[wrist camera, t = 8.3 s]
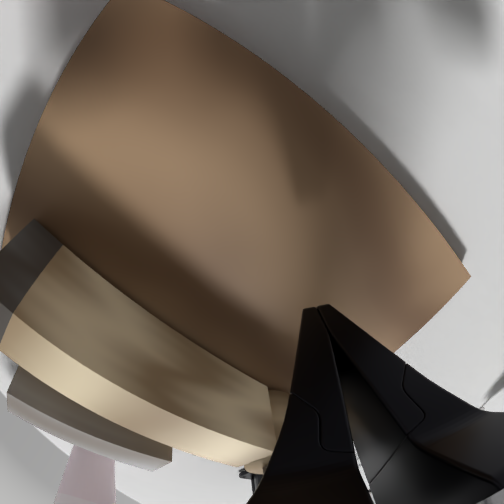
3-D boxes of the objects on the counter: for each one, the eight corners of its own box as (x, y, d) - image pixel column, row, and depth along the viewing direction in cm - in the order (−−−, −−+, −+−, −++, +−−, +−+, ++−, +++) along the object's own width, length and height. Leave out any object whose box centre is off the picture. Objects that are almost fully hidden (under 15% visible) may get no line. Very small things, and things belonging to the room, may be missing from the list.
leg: (304, 401, 16) (318, 459, 13) (263, 422, 17) (270, 477, 14) (37, 213, 9) (-24, 272, 6) (12, 263, 10) (-35, 324, 6)
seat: (263, 431, 20) (273, 504, 15) (1, 318, 13) (-44, 399, 7) (461, 266, 14) (528, 342, 8) (132, -10, 7) (46, -87, 1)
